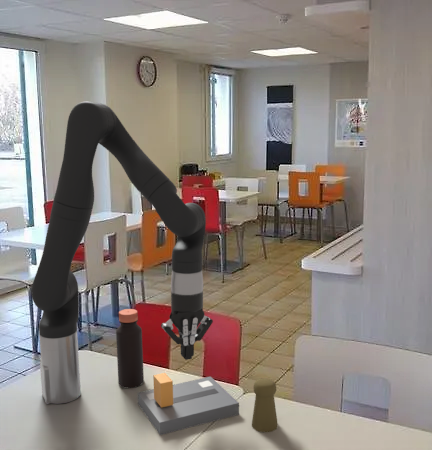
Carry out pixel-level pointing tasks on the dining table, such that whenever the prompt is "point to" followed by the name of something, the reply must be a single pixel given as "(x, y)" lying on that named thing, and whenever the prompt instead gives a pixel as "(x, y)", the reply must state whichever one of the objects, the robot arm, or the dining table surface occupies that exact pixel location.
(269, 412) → the olive pawn
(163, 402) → the knob
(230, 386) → the dining table surface
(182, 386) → the panel
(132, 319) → the bottle
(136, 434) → the dining table surface
